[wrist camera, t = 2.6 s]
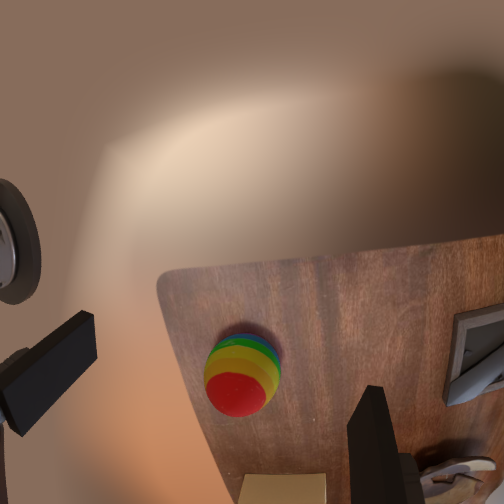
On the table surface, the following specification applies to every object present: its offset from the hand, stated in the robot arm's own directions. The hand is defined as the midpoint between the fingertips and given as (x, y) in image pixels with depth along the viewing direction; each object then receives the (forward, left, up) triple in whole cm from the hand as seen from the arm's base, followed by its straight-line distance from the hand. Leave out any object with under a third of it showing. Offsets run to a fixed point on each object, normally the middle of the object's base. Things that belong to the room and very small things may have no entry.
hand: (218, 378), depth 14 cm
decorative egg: (+2, -13, -21) cm, 25 cm away
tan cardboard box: (+20, -42, -21) cm, 51 cm away
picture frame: (+34, 0, -21) cm, 40 cm away
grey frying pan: (+45, -31, -21) cm, 58 cm away
